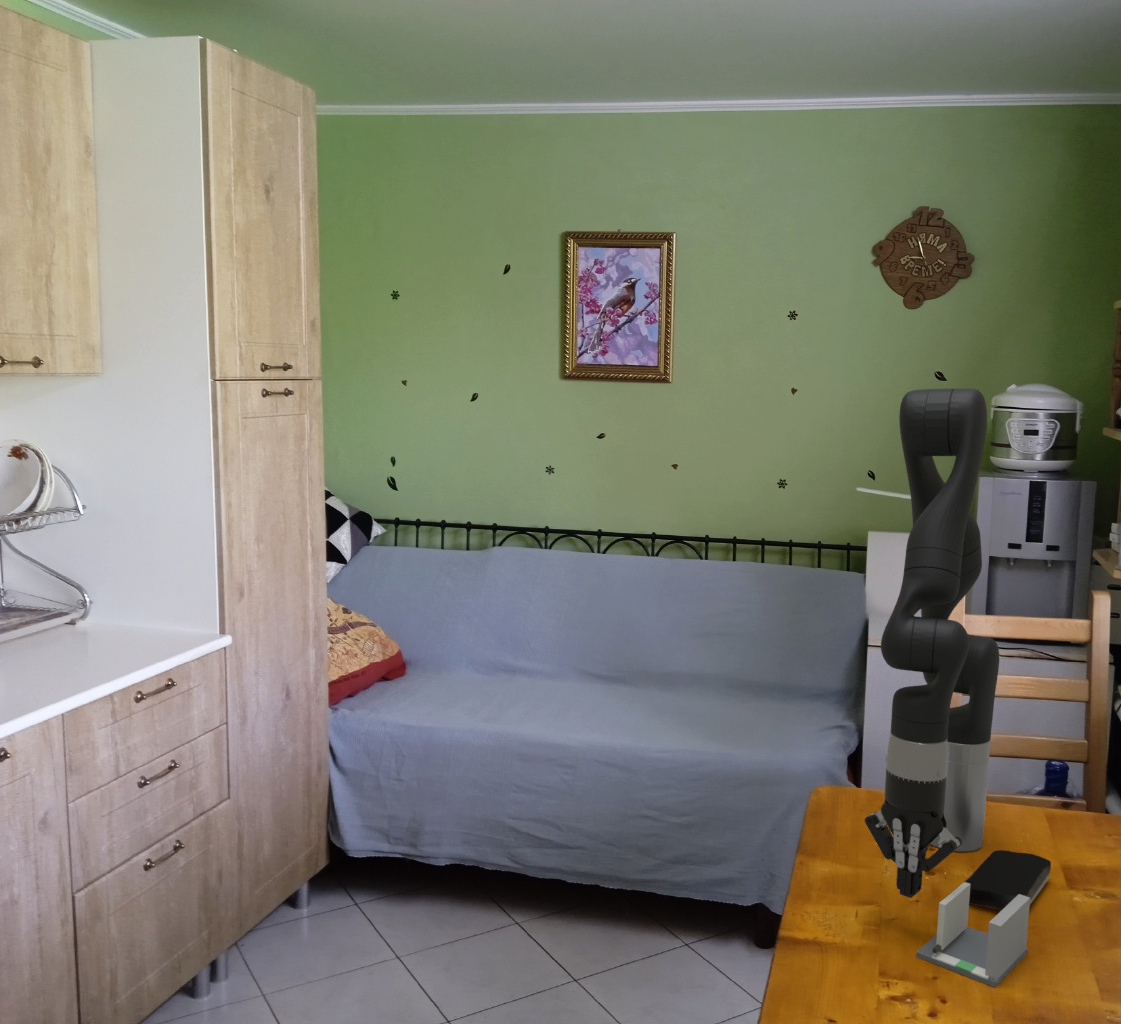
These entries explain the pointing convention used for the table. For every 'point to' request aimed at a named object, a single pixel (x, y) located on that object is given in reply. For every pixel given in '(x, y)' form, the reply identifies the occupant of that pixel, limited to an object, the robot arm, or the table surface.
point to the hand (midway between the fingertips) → (908, 894)
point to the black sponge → (1007, 878)
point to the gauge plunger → (952, 916)
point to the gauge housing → (986, 946)
